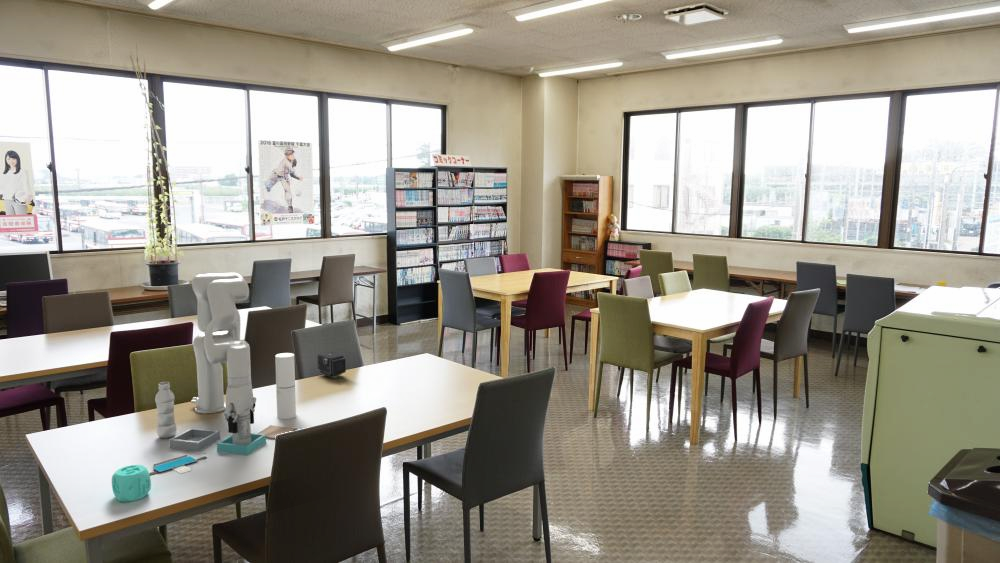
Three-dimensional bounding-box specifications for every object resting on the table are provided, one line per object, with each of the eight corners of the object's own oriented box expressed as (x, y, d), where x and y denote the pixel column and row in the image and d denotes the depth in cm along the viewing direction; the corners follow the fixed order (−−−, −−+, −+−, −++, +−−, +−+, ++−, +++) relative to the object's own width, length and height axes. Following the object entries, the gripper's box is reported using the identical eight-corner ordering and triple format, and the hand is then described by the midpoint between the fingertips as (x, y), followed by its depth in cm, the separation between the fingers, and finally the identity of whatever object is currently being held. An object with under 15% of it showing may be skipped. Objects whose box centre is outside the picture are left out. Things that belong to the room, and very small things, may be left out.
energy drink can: (246, 442, 238) (245, 402, 236) (254, 447, 233) (252, 406, 231) (230, 447, 233) (228, 405, 231) (237, 451, 229) (235, 409, 227)
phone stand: (153, 483, 205) (153, 478, 205) (137, 473, 212) (137, 468, 212) (216, 464, 220) (216, 459, 220) (199, 454, 228) (199, 450, 227)
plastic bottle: (157, 441, 238) (153, 387, 235) (157, 435, 244) (153, 382, 241) (177, 438, 241) (174, 384, 238) (176, 432, 247) (173, 380, 244)
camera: (315, 377, 324) (331, 381, 313) (313, 354, 323) (329, 357, 312) (334, 373, 331) (350, 376, 321) (332, 351, 331) (349, 353, 320)
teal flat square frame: (217, 451, 229) (216, 443, 229) (237, 439, 240) (237, 431, 240) (247, 455, 226) (246, 446, 226) (266, 442, 238) (265, 434, 237)
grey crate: (169, 447, 232) (169, 439, 231) (191, 436, 243) (191, 428, 243) (198, 451, 229) (198, 442, 229) (219, 439, 241) (219, 431, 240)
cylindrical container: (290, 419, 261) (288, 357, 258) (273, 418, 263) (271, 356, 260) (299, 413, 268) (297, 353, 265) (283, 412, 270) (281, 352, 266)
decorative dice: (122, 505, 190) (120, 478, 189) (112, 496, 195) (110, 470, 194) (151, 495, 196) (150, 469, 195) (141, 487, 201) (139, 462, 200)
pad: (253, 437, 243) (253, 435, 243) (270, 426, 253) (270, 425, 253) (281, 439, 240) (281, 438, 240) (296, 429, 251) (296, 427, 251)
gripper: (244, 373, 239) (246, 419, 241) (214, 386, 222) (216, 435, 225) (263, 374, 238) (265, 420, 240) (233, 388, 221) (236, 437, 223)
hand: (241, 428), depth 232 cm, fingers open, 9 cm apart
